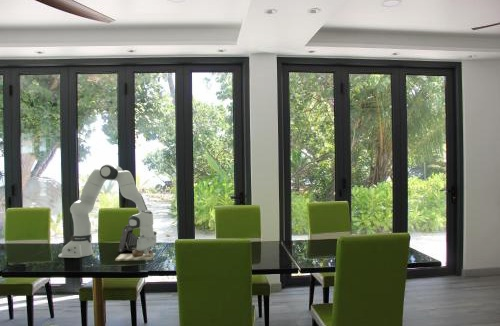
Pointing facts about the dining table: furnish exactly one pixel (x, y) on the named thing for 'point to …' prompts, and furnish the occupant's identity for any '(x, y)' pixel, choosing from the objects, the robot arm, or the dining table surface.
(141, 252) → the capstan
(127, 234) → the camera
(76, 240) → the robot arm
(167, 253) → the dining table surface
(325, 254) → the dining table surface
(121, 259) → the board
